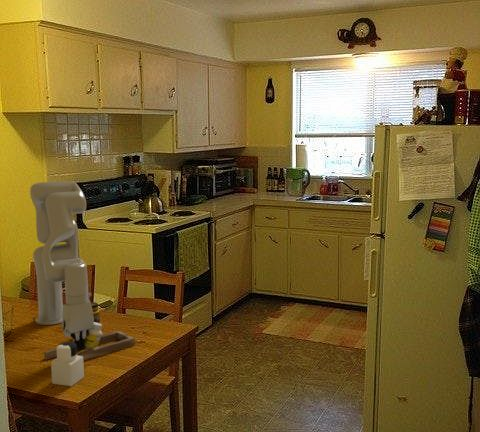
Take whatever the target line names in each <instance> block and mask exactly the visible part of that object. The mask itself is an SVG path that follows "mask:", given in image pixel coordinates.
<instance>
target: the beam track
mask: <svg viewBox="0 0 480 432" xmlns="http://www.w3.org/2000/svg"><path fill="white" fill-rule="evenodd" d="M115 340H117V341H116V342H115ZM118 340H119V341H118ZM111 341H114V342H112V343H109V344H105V343H108V342H111ZM72 342H73V343H74V339H73V340H72ZM101 344H105V345H101ZM98 345H101V346H98V347H95V348H92V349H91V350H88V351H84V350H83V351H82V352H81V351H80V352H79V351H78V350H77V356H83V362H84V361H87V360H90V359H94V358H97V357H100V356H103V355H106V354H109V353H113V352H117V351H119V350H123V349H125V348H129V347H132V346H135V345H136V337H134V336H131V335H129V334H127V333H125V332H123V331H121V330H116V331H112V332H109V333H104V334H103V335H101V338H100V341H99V344H98ZM43 354H44V359H45V360H50V359H54V358H57V349H56V348H52V349H48V350H45V351H44V353H43Z"/></svg>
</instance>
